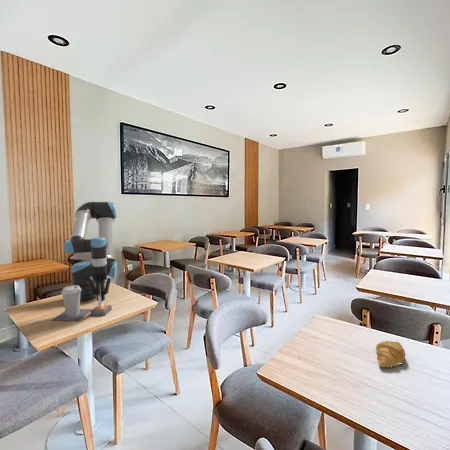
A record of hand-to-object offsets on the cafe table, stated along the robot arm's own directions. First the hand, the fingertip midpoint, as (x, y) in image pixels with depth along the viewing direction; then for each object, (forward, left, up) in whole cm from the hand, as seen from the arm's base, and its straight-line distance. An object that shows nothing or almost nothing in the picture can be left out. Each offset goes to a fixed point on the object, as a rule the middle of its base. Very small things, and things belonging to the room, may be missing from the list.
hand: (101, 306), depth 149 cm
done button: (0, 0, -3) cm, 3 cm away
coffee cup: (+4, -14, -3) cm, 15 cm away
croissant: (+37, +138, -4) cm, 143 cm away
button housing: (0, 0, -4) cm, 4 cm away
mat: (+4, -14, -4) cm, 15 cm away
